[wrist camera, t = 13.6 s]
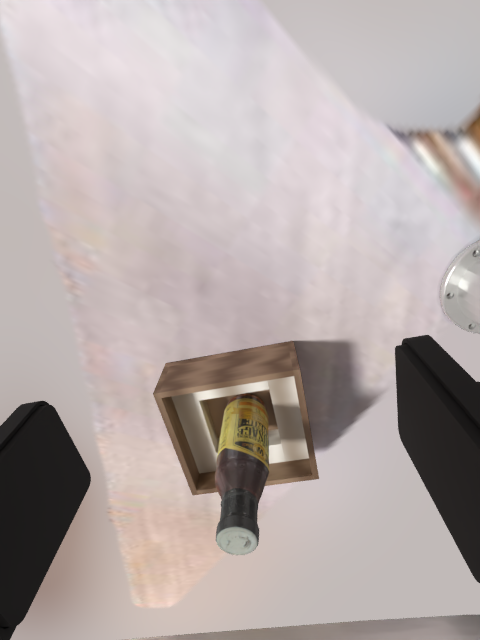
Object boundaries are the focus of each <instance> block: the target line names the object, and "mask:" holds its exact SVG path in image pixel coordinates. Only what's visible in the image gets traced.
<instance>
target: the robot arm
mask: <svg viewBox="0 0 480 640" xmlns="http://www.w3.org/2000/svg"><path fill="white" fill-rule="evenodd" d="M440 301H441V306H442V309H443V311H444V313H445V314H446V316H447V317H448V319H449V320H451V321H452V322H453V323H454V324H455V325H457V326H458V327H460V328H461V329H463V330H466V331H468V332H473V333H479V334H480V240H479V241H477V242H475V243H473V244H472V245H470V246H469V247H468V248H466V249H465V250H464V251H462V252H461V253H460V254H459V255H458V256H457V257H456V258H455V260H454V261H453V262H452V264H451V265H450V266H449V268H448V269H447V271H446V273H445V275H444V278H443V281H442V284H441V288H440ZM395 360H396V384H397V407H398V429H399V434H400V438H401V441H402V443H403V445H404V447H405V448H406V450H407V452H408V454H409V456H410V458H411V460H412V462H413V464H414V466H415V467H416V469H417V471H418V473H419V475H420V477H421V479H422V481H423V482H424V484H425V486H426V488H427V490H428V492H429V494H430V496H431V497H432V499H433V501H434V503H435V505H436V507H437V509H438V511H439V513H440V514H441V516H442V518H443V520H444V522H445V524H446V526H447V528H448V530H449V531H450V533H451V535H452V537H453V539H454V541H455V543H456V545H457V546H458V548H459V550H460V552H461V554H462V556H463V558H464V559H465V561H466V563H467V565H468V567H469V569H470V571H471V573H472V574H473V576H474V578H475V579H476V580H477V582H479V583H480V382H476V381H475V380H474V379H473V378H472V377H471V376H470V375H469V374H468V373H467V372H466V371H465V370H464V369H463V368H462V367H461V366H460V365H459V364H458V363H457V362H456V361H455V360H454V359H453V358H452V357H451V356H450V355H449V354H448V353H447V352H446V351H444V349H443V348H442V347H441V346H440V345H439V344H438V343H437V342H436V341H435V340H434V339H433V338H432V337H430V336H429V335H424V336H418V337H412V338H406V339H403V341H402V345H399V346H396V348H395ZM90 481H91V477H90V473H89V470H88V469H87V467H86V465H85V463H84V461H83V460H82V458H81V456H80V454H79V452H78V450H77V448H76V446H75V445H74V443H73V441H72V439H71V437H70V436H69V433H68V432H67V430H66V428H65V426H64V424H63V422H62V421H61V419H60V417H59V415H58V413H57V411H56V410H55V408H54V407H53V406H52V405H49V404H48V403H47V402H45V401H38V402H33V403H26V404H22V405H20V406H19V407H18V408H17V409H16V410H15V411H14V412H13V413H12V414H11V416H9V418H8V419H7V420H6V421H5V422H4V423H3V424H2V425H1V426H0V640H10V638H11V636H12V634H13V632H14V630H15V628H16V626H17V625H18V624H20V623H21V622H22V621H23V619H24V617H25V616H26V614H27V612H28V610H29V608H30V606H31V604H32V602H33V600H34V598H35V596H36V594H37V592H38V590H39V587H40V585H41V583H42V581H43V579H44V577H45V575H46V573H47V571H48V569H49V567H50V565H51V563H52V561H53V559H54V557H55V555H56V553H57V551H58V549H59V547H60V545H61V543H62V541H63V539H64V537H65V535H66V532H67V531H68V529H69V527H70V524H71V523H72V520H73V518H74V516H75V514H76V512H77V510H78V508H79V506H80V504H81V502H82V500H83V498H84V496H85V494H86V492H87V490H88V488H89V486H90ZM126 640H480V615H456V616H438V617H421V618H405V619H404V618H403V619H386V620H368V621H353V622H340V623H327V624H315V625H301V626H289V627H275V628H262V629H249V630H236V631H223V632H210V633H198V634H186V635H174V636H161V637H149V638H137V639H126Z"/></svg>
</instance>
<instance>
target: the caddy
mask: <svg viewBox="0 0 480 640" xmlns="http://www.w3.org/2000/svg"><path fill="white" fill-rule="evenodd" d="M240 394H250V395H254V396H257V397H258V398H260V399H261V400H262V401H263V402H264V404H265V406H266V409H267V413H268V437H269V475H268V477H267V480H266V483H265V486H268V485H275V484H283V483H291V482H298V481H305V480H314V479H319V476H318V470H317V464H316V459H315V453H314V447H313V441H312V436H311V430H310V424H309V418H308V413H307V407H306V401H305V395H304V390H303V384H302V378H301V372H300V367H299V363H298V359H297V354H296V350H295V346H294V341H290V342H284V343H278V344H273V345H267V346H261V347H256V348H250V349H244V350H239V351H233V352H227V353H222V354H216V355H211V356H205V357H199V358H194V359H188V360H182V361H177V362H171V363H166V364H165V366H164V369H163V371H162V374H161V376H160V379H159V381H158V383H157V386H156V388H155V391H154V393H153V395H154V397H155V400H156V402H157V405H158V408H159V410H160V413H161V415H162V418H163V420H164V423H165V426H166V428H167V431H168V433H169V436H170V438H171V441H172V444H173V446H174V449H175V451H176V454H177V456H178V459H179V461H180V464H181V467H182V469H183V472H184V474H185V477H186V479H187V482H188V485H189V487H190V490H191V492H192V495H199V494H206V493H214V492H218V491H217V489H216V486H215V472H216V467H217V455H218V448H219V441H220V435H221V428H222V422H223V416H224V411H225V408H226V406H227V404H228V402H229V401H230V399H232V398H233V397H235V396H238V395H240Z"/></svg>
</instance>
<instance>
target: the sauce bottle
mask: <svg viewBox="0 0 480 640" xmlns="http://www.w3.org/2000/svg"><path fill="white" fill-rule="evenodd" d="M268 475H269V437H268V413H267V409H266V406H265V404H264V402H263V401H262V400H261V399H260V398H258V397H257V396H254V395H250V394H240V395H238V396H235V397H233V398H232V399H230V401H229V402H228V404H227V406H226V408H225V411H224V416H223V422H222V428H221V435H220V441H219V448H218V455H217V467H216V472H215V486H216V489H217V491H218V493H219V495H220V496H221V499H222V501H221V507H222V508H221V517H220V522H219V523H218V526H217V532H216V542H217V545H218V546H219V547H220V549H221V550H223V551H225V552H227V553H229V554H232V555H245V554H248V553H251V552H252V551H254V550H255V549H256V547H257V546H258V540H259V528H258V525H257V510H258V503H259V500H260V498H261V495H262V492H263V489H264V486H265V483H266V480H267V477H268Z"/></svg>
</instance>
